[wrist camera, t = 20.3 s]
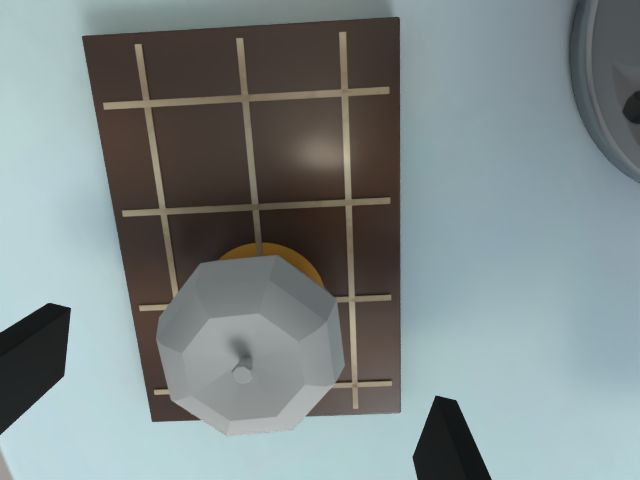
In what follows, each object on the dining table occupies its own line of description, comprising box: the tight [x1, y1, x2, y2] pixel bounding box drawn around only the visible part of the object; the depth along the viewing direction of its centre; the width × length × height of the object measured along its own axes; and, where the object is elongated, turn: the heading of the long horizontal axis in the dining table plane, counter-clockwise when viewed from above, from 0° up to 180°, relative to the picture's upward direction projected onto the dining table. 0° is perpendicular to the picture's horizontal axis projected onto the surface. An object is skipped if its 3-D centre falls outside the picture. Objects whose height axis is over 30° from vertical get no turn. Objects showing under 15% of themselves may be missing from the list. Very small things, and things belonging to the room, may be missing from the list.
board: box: [82, 17, 401, 422], centre depth 21 cm, size 20×14×1 cm
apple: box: [156, 255, 345, 436], centre depth 18 cm, size 8×8×7 cm
